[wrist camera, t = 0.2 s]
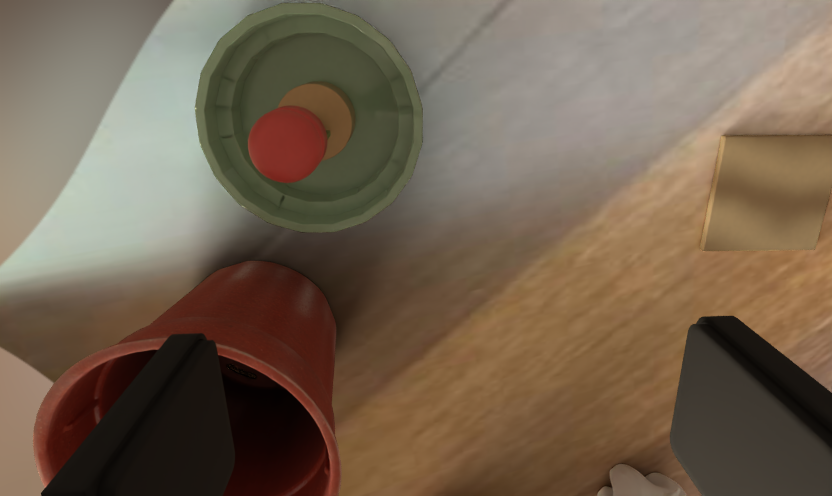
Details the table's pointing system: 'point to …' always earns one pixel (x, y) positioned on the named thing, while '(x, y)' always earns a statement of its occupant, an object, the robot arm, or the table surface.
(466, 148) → the table surface
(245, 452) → the flower pot
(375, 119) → the bowl
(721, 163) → the coaster
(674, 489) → the elephant figurine
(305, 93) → the tulip
